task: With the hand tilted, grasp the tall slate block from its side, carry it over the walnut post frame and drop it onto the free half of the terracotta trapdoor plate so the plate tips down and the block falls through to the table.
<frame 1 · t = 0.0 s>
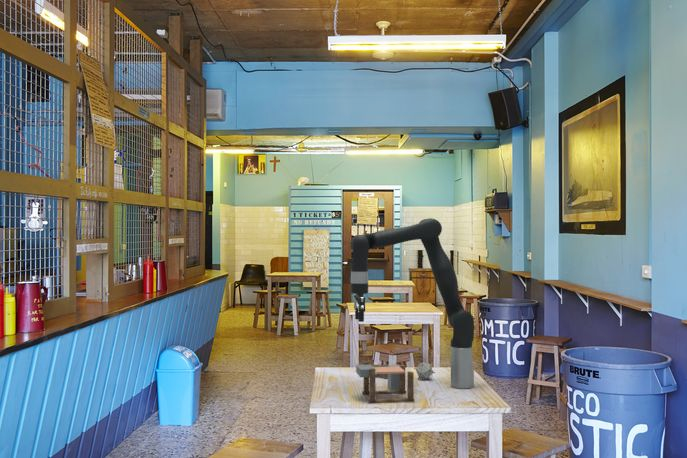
hand: (359, 320, 260), 29 cm above the table, tool pointing down, fingers open, 8 cm apart
game die: (424, 379, 280), on the table
trapdoor: (380, 370, 245), point 11 cm above the table, hinge at 0.0°
frame: (387, 397, 245), on the table
slate block: (394, 377, 259), point 5 cm above the table
marble piece: (380, 376, 289), on the table
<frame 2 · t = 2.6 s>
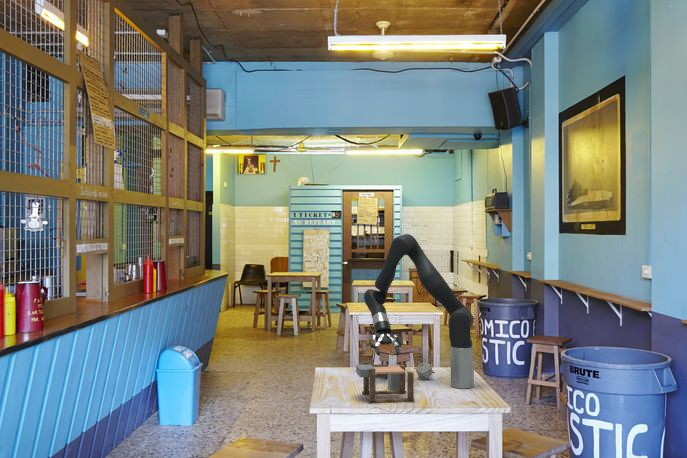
hand: (388, 354, 269), 13 cm above the table, tool tilted 45°, fingers open, 8 cm apart
nothing on the table moved.
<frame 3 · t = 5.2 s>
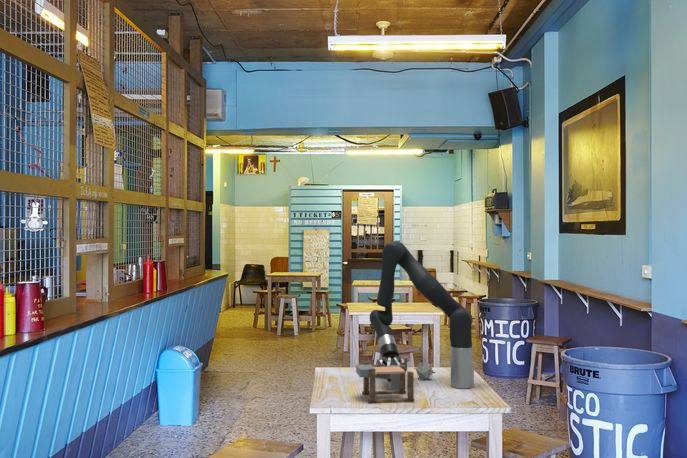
hand: (396, 380, 257), 4 cm above the table, tool tilted 45°, fingers closed on slate block, 5 cm apart
slate block: (394, 377, 259), point 5 cm above the table, touching gripper
everything else where it was.
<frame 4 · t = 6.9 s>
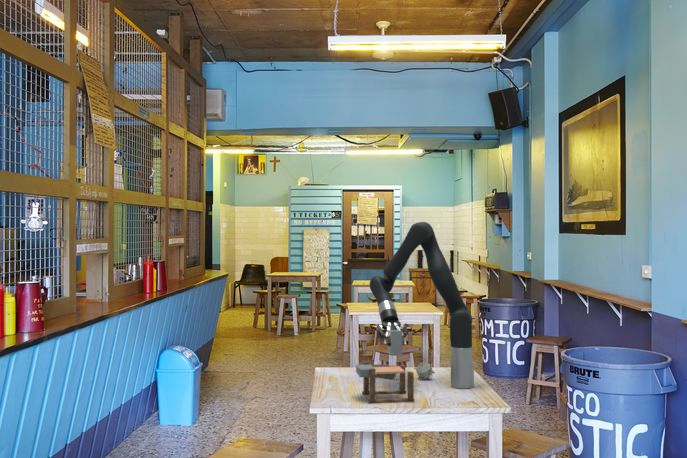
hand: (396, 344, 258), 19 cm above the table, tool tilted 45°, fingers closed on slate block, 5 cm apart
slate block: (394, 342, 260), point 20 cm above the table, touching gripper
everything else where it was.
when the fingers open (18 cm above the table, at t = 8.6 s): slate block drops 5 cm, resting on trapdoor.
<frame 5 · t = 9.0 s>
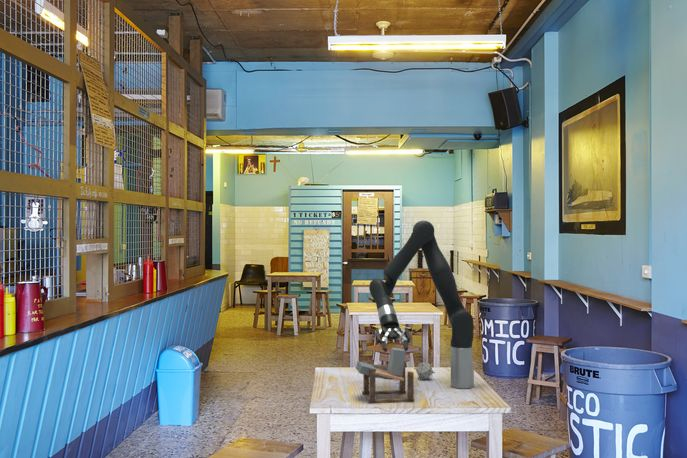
hand: (396, 350, 245), 19 cm above the table, tool tilted 45°, fingers open, 8 cm apart
trapdoor: (380, 372, 245), point 10 cm above the table, hinge at -14.9°, touching slate block
slate block: (396, 361, 247), point 14 cm above the table, tilted 9°, touching gripper, trapdoor
everything else where it was.
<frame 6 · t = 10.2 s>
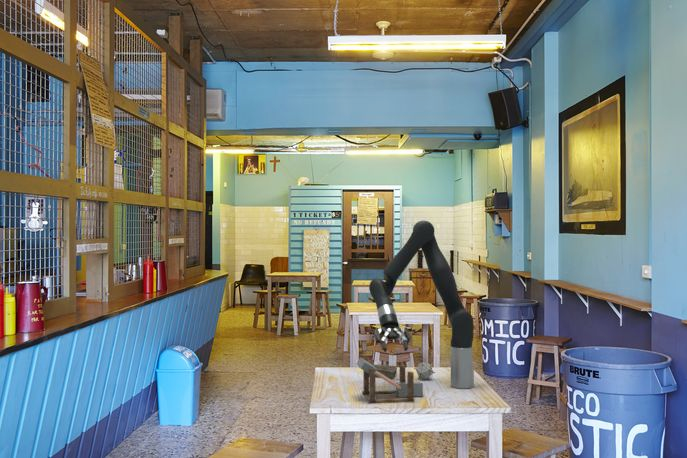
hand: (395, 350, 245), 19 cm above the table, tool tilted 45°, fingers open, 8 cm apart
trapdoor: (379, 374, 245), point 9 cm above the table, hinge at -32.1°, touching slate block
slate block: (409, 389, 249), point 3 cm above the table, tilted 90°, touching trapdoor
everything else where it was.
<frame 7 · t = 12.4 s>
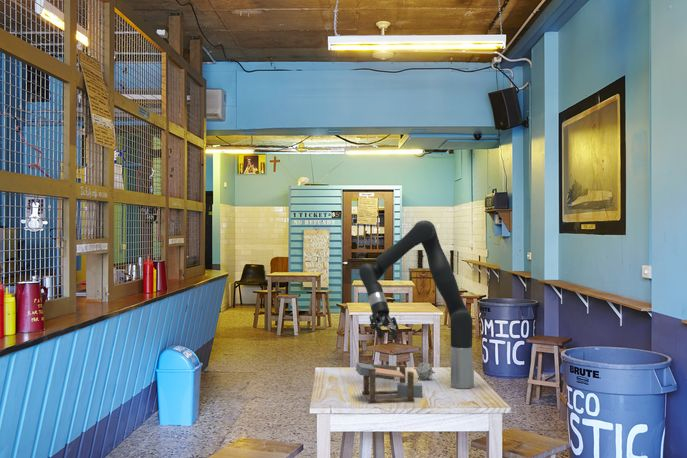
hand: (388, 338, 260), 22 cm above the table, tool tilted 35°, fingers open, 8 cm apart
trapdoor: (380, 371, 245), point 11 cm above the table, hinge at -9.0°
slate block: (409, 390, 248), point 2 cm above the table, tilted 90°
everything else where it was.
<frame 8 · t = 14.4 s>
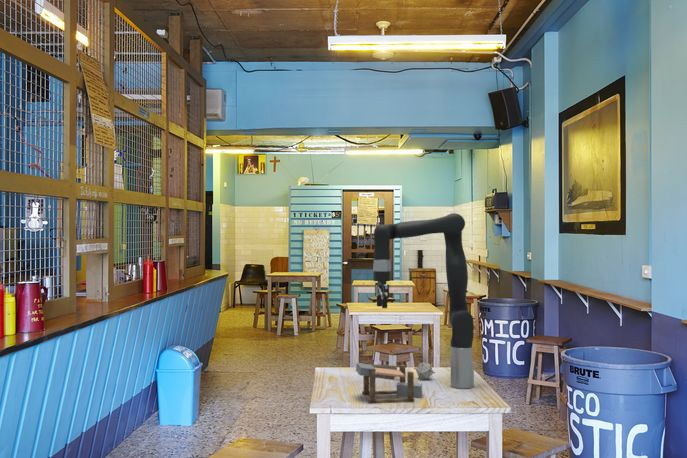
hand: (381, 307, 267), 34 cm above the table, tool pointing down, fingers open, 8 cm apart
trapdoor: (380, 371, 245), point 11 cm above the table, hinge at -7.7°
everything else where it was.
at the end: slate block point 2.3 cm above the table; slate block inside the target area on the frame (7.6 cm from its centre), point 2.3 cm above the frame's base; the gripper is holding nothing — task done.
